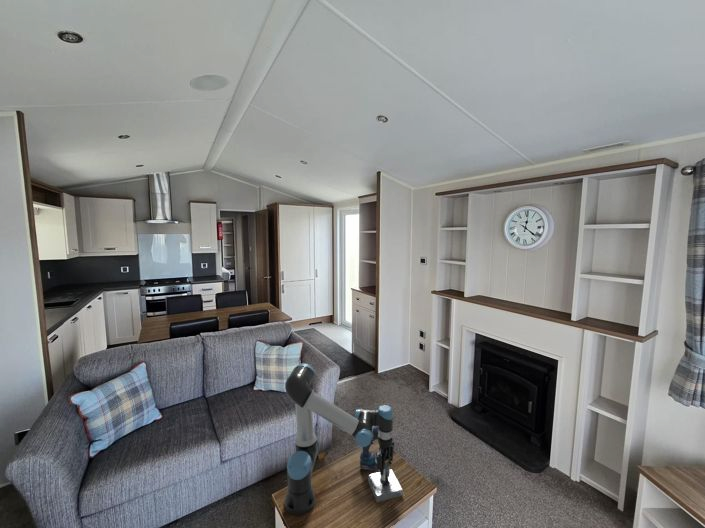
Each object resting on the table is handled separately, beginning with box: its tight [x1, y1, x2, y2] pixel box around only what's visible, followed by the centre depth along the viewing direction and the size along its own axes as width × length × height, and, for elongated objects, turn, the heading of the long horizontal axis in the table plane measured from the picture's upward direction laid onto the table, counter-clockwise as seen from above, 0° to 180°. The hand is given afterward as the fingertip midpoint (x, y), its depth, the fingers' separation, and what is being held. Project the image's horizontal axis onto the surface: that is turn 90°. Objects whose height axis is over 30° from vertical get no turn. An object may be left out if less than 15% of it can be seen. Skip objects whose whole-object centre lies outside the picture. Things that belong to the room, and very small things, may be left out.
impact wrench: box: [353, 426, 378, 472], centre depth 179 cm, size 8×22×25 cm, turn 78°
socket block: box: [367, 469, 403, 503], centre depth 166 cm, size 14×14×4 cm
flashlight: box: [382, 457, 392, 482], centre depth 164 cm, size 6×4×12 cm, turn 47°
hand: (384, 477), depth 165 cm, fingers closed on flashlight, 3 cm apart
